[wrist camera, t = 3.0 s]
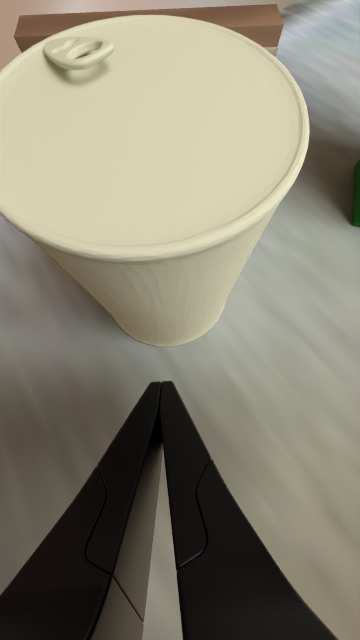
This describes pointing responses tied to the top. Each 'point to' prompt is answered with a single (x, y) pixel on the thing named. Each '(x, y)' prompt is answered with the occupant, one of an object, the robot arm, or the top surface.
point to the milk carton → (357, 196)
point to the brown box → (245, 20)
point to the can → (149, 162)
